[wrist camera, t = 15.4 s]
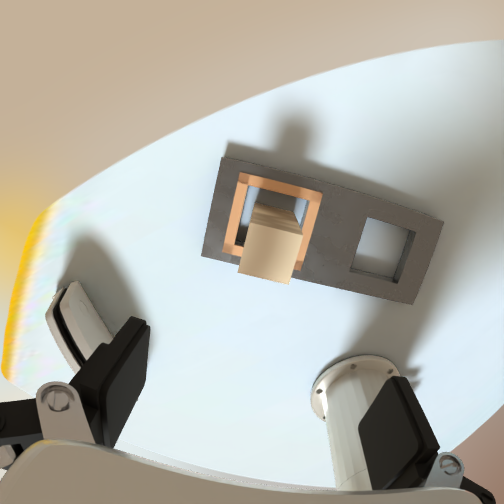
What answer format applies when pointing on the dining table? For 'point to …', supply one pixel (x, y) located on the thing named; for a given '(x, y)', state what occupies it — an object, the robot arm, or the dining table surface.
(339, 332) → the dining table surface
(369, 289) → the grey flat holed plate
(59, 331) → the grey slotted arched block
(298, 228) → the plug
